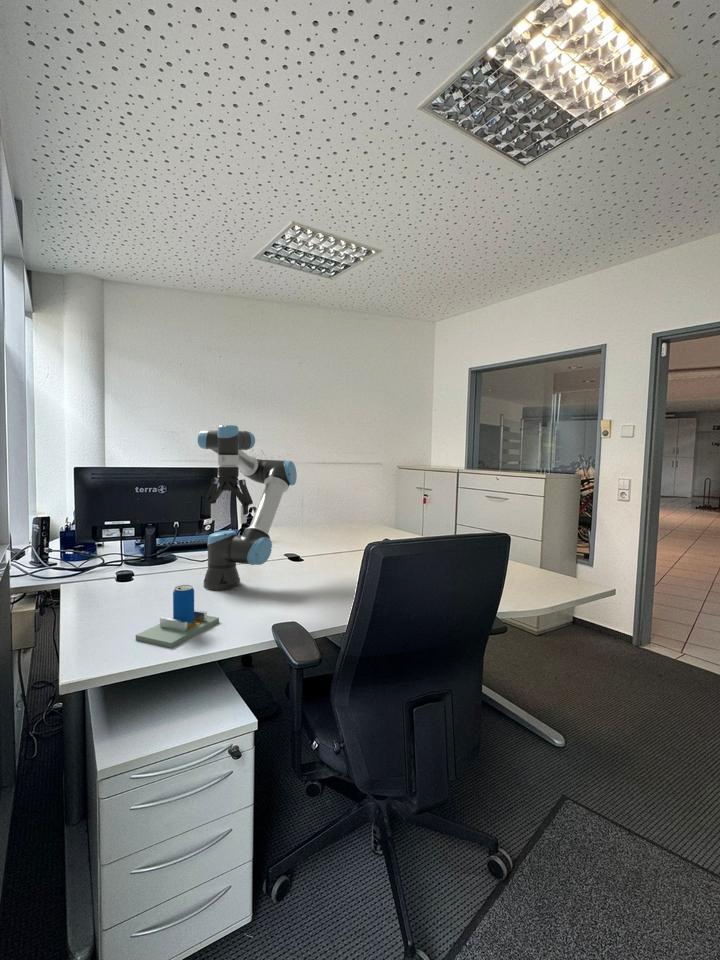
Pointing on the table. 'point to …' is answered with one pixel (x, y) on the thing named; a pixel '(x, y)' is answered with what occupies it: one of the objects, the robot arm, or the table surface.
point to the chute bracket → (183, 622)
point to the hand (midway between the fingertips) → (228, 521)
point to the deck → (173, 633)
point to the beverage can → (183, 603)
